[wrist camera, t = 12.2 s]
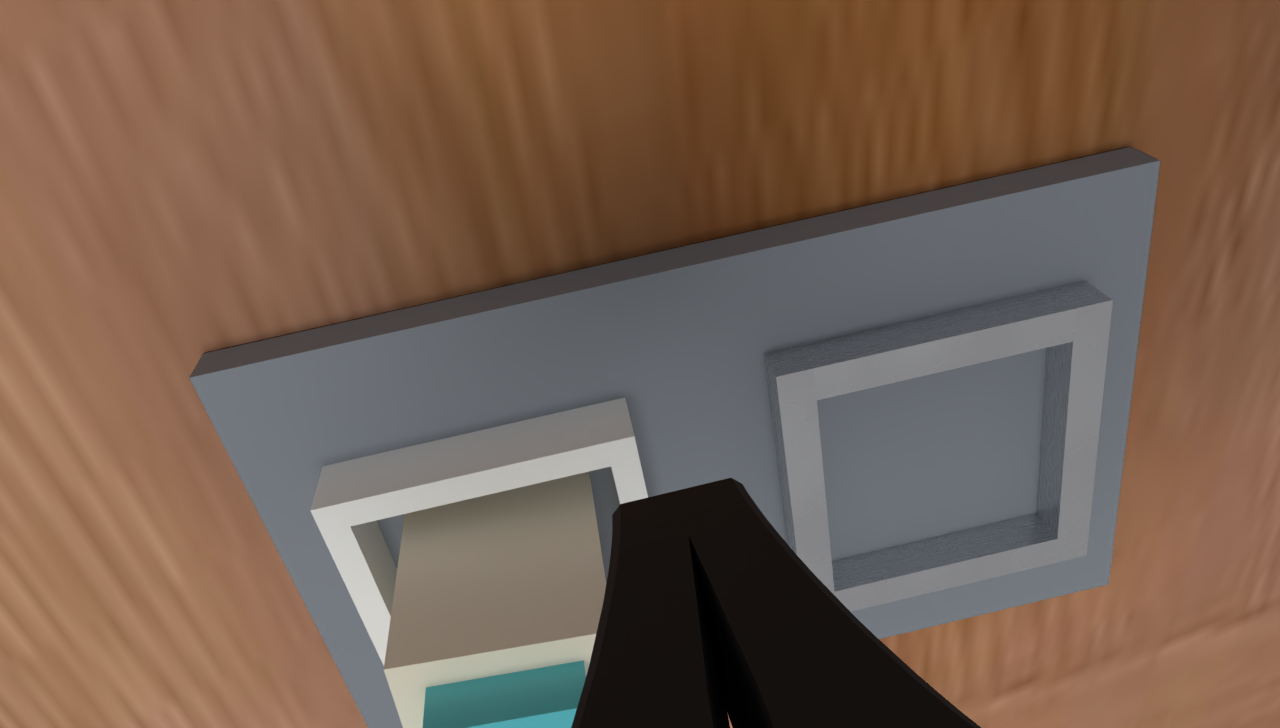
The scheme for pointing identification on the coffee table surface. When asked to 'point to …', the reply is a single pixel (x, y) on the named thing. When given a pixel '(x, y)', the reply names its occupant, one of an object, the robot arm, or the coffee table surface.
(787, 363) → the frame
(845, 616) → the robot arm
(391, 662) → the plug
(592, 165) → the coffee table surface
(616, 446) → the port
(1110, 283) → the panel plate
